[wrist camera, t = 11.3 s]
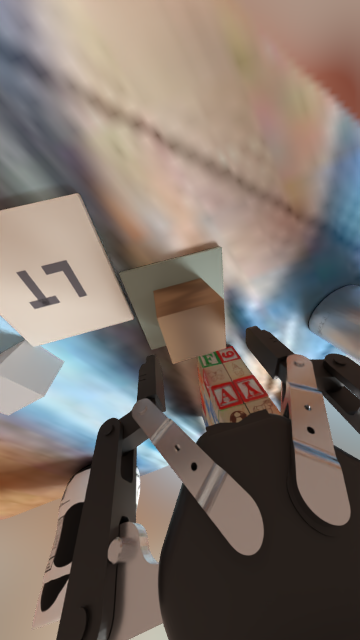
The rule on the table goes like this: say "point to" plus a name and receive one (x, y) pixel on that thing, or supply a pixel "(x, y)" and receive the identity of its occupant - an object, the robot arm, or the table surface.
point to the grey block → (25, 375)
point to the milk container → (64, 549)
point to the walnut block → (190, 319)
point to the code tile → (56, 272)
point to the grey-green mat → (165, 275)
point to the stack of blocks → (229, 388)
